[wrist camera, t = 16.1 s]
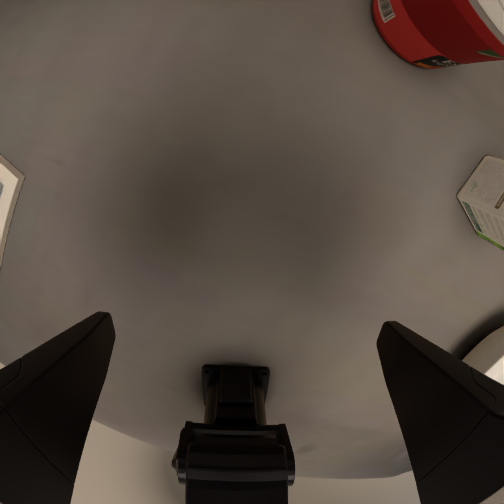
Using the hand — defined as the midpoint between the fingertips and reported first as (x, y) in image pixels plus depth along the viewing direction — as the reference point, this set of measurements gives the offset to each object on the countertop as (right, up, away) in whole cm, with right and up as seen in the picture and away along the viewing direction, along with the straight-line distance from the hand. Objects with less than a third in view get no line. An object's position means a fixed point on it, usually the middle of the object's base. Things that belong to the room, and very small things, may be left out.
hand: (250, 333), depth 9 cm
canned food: (+13, +20, +6) cm, 25 cm away
